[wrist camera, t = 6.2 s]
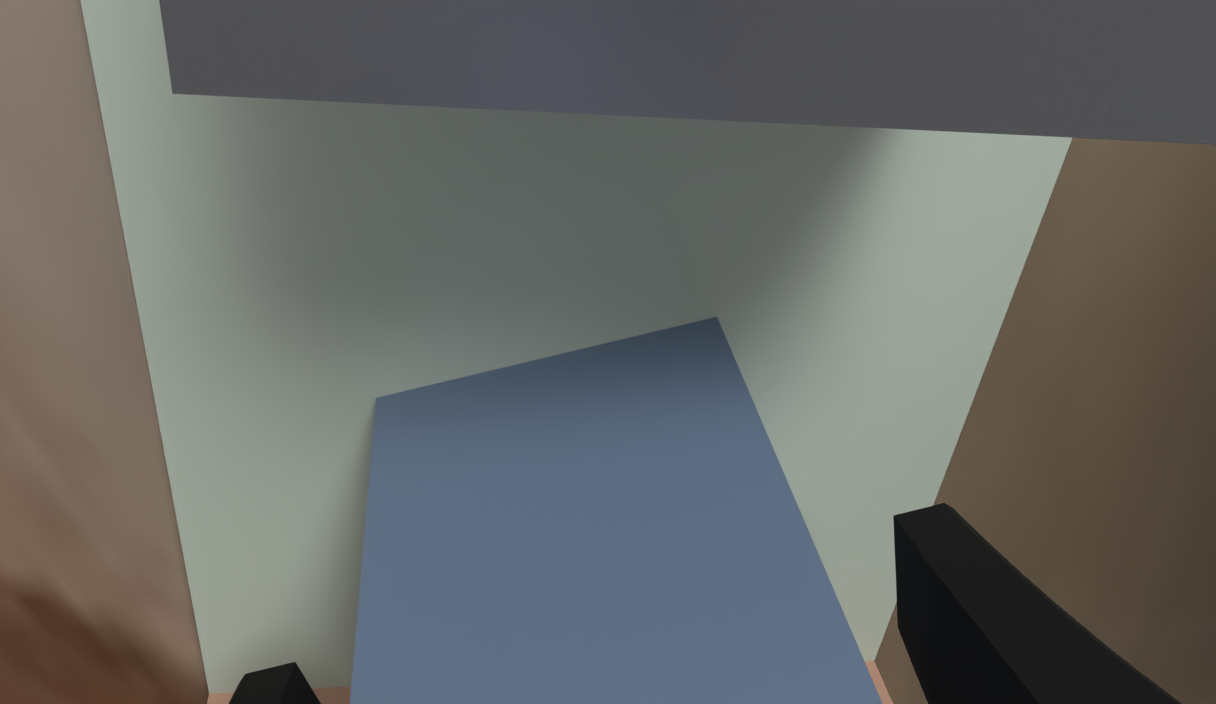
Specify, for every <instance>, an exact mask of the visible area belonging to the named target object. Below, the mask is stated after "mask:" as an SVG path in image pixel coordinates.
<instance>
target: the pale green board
mask: <svg viewBox="0 0 1216 704" xmlns="http://www.w3.org/2000/svg"><path fill="white" fill-rule="evenodd" d="M81 6H82V11H83V16H84V22H85V27H86V32H87V38H88V43H89V49H90V54H91V59H92V65H93V70H94V76H95V81H96V86H97V92H98V97H99V103H100V108H101V113H102V119H103V124H104V129H105V135H106V140H107V146H108V151H109V156H110V162H111V167H112V173H113V178H114V183H115V189H116V194H117V200H118V205H119V210H120V216H121V221H122V227H123V232H124V237H125V243H126V248H127V253H128V259H129V264H130V270H131V275H132V280H133V286H134V291H135V297H136V302H137V307H138V313H139V318H140V324H141V329H142V334H143V340H144V345H145V350H146V356H147V361H148V367H149V372H150V377H151V383H152V388H153V394H154V399H155V404H156V410H157V415H158V421H159V426H160V431H161V437H162V442H163V448H164V453H165V458H166V464H167V469H168V474H169V480H170V485H171V491H172V496H173V501H174V507H175V512H176V518H177V523H178V528H179V534H180V539H181V545H182V550H183V555H184V561H185V566H186V572H187V577H188V582H189V588H190V593H191V598H192V604H193V609H194V615H195V620H196V625H197V631H198V636H199V642H200V647H201V652H202V658H203V663H204V669H205V674H206V679H207V685H208V690H209V696H208V701H207V704H229V702H230V700H231V698H232V696H233V694H234V692H235V690H236V688H237V686H238V684H239V682H240V681H241V679H242V678H243V676H244V675H245V674H247V673H251V672H255V671H259V670H263V669H267V668H271V667H276V666H280V665H284V664H288V663H292V662H296V664H297V665H298V667H299V669H300V670H301V672H302V673H303V675H304V677H305V678H306V680H307V682H308V683H309V685H310V687H311V688H312V690H313V691H314V693H315V695H316V696H317V698H318V700H319V701H320V703H321V704H350V694H351V682H352V671H353V659H354V648H355V636H356V624H357V613H358V601H359V590H360V578H361V567H362V555H363V543H364V532H365V520H366V509H367V497H368V486H369V474H370V463H371V451H372V439H373V428H374V416H375V405H376V398H377V397H382V396H386V395H390V394H394V393H398V392H403V391H407V390H411V389H415V388H419V387H424V386H428V385H432V384H436V383H440V382H445V381H449V380H453V379H457V378H461V377H466V376H470V375H474V374H478V373H482V372H487V371H491V370H495V369H499V368H503V367H508V366H512V365H516V364H520V363H524V362H529V361H533V360H537V359H541V358H546V357H550V356H554V355H558V354H562V353H567V352H571V351H575V350H579V349H583V348H588V347H592V346H596V345H600V344H604V343H609V342H613V341H617V340H621V339H625V338H630V337H634V336H638V335H642V334H646V333H651V332H655V331H659V330H663V329H667V328H672V327H676V326H680V325H684V324H688V323H693V322H697V321H701V320H705V319H709V318H714V317H717V318H718V320H719V323H720V325H721V327H722V330H723V332H724V334H725V337H726V339H727V341H728V344H729V346H730V348H731V351H732V353H733V355H734V358H735V360H736V362H737V365H738V367H739V369H740V372H741V374H742V376H743V379H744V381H745V383H746V386H747V388H748V390H749V393H750V395H751V397H752V400H753V402H754V404H755V407H756V409H757V411H758V414H759V416H760V418H761V421H762V423H763V425H764V428H765V430H766V432H767V435H768V437H769V439H770V442H771V444H772V446H773V449H774V451H775V453H776V456H777V458H778V460H779V463H780V465H781V467H782V470H783V472H784V474H785V477H786V479H787V481H788V484H789V486H790V488H791V491H792V493H793V496H794V498H795V500H796V503H797V505H798V507H799V510H800V512H801V514H802V517H803V519H804V521H805V524H806V526H807V528H808V531H809V533H810V535H811V538H812V540H813V542H814V545H815V547H816V549H817V552H818V554H819V556H820V559H821V561H822V563H823V566H824V568H825V570H826V573H827V575H828V577H829V580H830V582H831V584H832V587H833V589H834V591H835V594H836V596H837V598H838V601H839V603H840V605H841V608H842V610H843V612H844V615H845V617H846V619H847V622H848V624H849V626H850V629H851V631H852V633H853V636H854V638H855V640H856V643H857V645H858V647H859V650H860V652H861V654H862V657H863V659H864V661H865V664H866V666H867V668H868V671H869V673H870V675H871V678H872V680H873V682H874V685H875V687H876V689H877V692H878V694H879V696H880V699H881V701H882V703H883V704H893V703H892V701H891V698H890V696H889V694H888V691H887V689H886V687H885V685H884V682H883V680H882V678H881V675H880V673H879V671H878V669H877V666H876V664H875V662H874V660H875V657H876V655H877V652H878V649H879V647H880V644H881V641H882V639H883V636H884V634H885V631H886V628H887V626H888V623H889V620H890V618H891V615H892V612H893V610H894V607H895V605H896V602H897V593H896V569H895V544H894V519H893V515H897V514H901V513H905V512H909V511H914V510H918V509H922V508H926V507H930V506H933V504H934V502H935V499H936V496H937V494H938V491H939V488H940V486H941V483H942V481H943V478H944V475H945V473H946V470H947V467H948V465H949V462H950V459H951V457H952V454H953V452H954V449H955V446H956V444H957V441H958V438H959V436H960V433H961V430H962V428H963V425H964V423H965V420H966V417H967V415H968V412H969V409H970V407H971V404H972V401H973V399H974V396H975V393H976V391H977V388H978V386H979V383H980V380H981V378H982V375H983V372H984V370H985V367H986V364H987V362H988V359H989V357H990V354H991V351H992V349H993V346H994V343H995V341H996V338H997V335H998V333H999V330H1000V328H1001V325H1002V322H1003V320H1004V317H1005V314H1006V312H1007V309H1008V306H1009V304H1010V301H1011V298H1012V296H1013V293H1014V291H1015V288H1016V285H1017V283H1018V280H1019V277H1020V275H1021V272H1022V269H1023V267H1024V264H1025V262H1026V259H1027V256H1028V254H1029V251H1030V248H1031V246H1032V243H1033V240H1034V238H1035V235H1036V233H1037V230H1038V227H1039V225H1040V222H1041V219H1042V217H1043V214H1044V211H1045V209H1046V206H1047V204H1048V201H1049V198H1050V196H1051V193H1052V190H1053V188H1054V185H1055V182H1056V180H1057V177H1058V174H1059V172H1060V169H1061V167H1062V164H1063V161H1064V159H1065V156H1066V153H1067V151H1068V148H1069V145H1070V143H1071V140H1072V138H1071V137H1051V136H1030V135H1009V134H989V133H968V132H948V131H927V130H906V129H886V128H865V127H845V126H824V125H804V124H783V123H762V122H742V121H721V120H701V119H680V118H660V117H639V116H618V115H598V114H577V113H557V112H536V111H515V110H495V109H474V108H454V107H433V106H413V105H392V104H371V103H351V102H330V101H310V100H289V99H269V98H248V97H227V96H207V95H186V94H172V87H171V80H170V73H169V66H168V59H167V52H166V45H165V38H164V31H163V24H162V17H161V10H160V3H159V0H81Z"/></svg>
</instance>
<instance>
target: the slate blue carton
mask: <svg viewBox="0 0 1216 704" xmlns="http://www.w3.org/2000/svg"><path fill="white" fill-rule="evenodd" d="M350 704H883V703H882V701H881V699H880V696H879V694H878V692H877V689H876V687H875V685H874V682H873V680H872V678H871V675H870V673H869V671H868V668H867V666H866V664H865V661H864V659H863V657H862V654H861V652H860V650H859V647H858V645H857V643H856V640H855V638H854V636H853V633H852V631H851V629H850V626H849V624H848V622H847V619H846V617H845V615H844V612H843V610H842V608H841V605H840V603H839V601H838V598H837V596H836V594H835V591H834V589H833V587H832V584H831V582H830V580H829V577H828V575H827V573H826V570H825V568H824V566H823V563H822V561H821V559H820V556H819V554H818V552H817V549H816V547H815V545H814V542H813V540H812V538H811V535H810V533H809V531H808V528H807V526H806V524H805V521H804V519H803V517H802V514H801V512H800V510H799V507H798V505H797V503H796V500H795V498H794V496H793V493H792V491H791V488H790V486H789V484H788V481H787V479H786V477H785V474H784V472H783V470H782V467H781V465H780V463H779V460H778V458H777V456H776V453H775V451H774V449H773V446H772V444H771V442H770V439H769V437H768V435H767V432H766V430H765V428H764V425H763V423H762V421H761V418H760V416H759V414H758V411H757V409H756V407H755V404H754V402H753V400H752V397H751V395H750V393H749V390H748V388H747V386H746V383H745V381H744V379H743V376H742V374H741V372H740V369H739V367H738V365H737V362H736V360H735V358H734V355H733V353H732V351H731V348H730V346H729V344H728V341H727V339H726V337H725V334H724V332H723V330H722V327H721V325H720V323H719V320H718V318H717V317H714V318H709V319H705V320H701V321H697V322H693V323H688V324H684V325H680V326H676V327H672V328H667V329H663V330H659V331H655V332H651V333H646V334H642V335H638V336H634V337H630V338H625V339H621V340H617V341H613V342H609V343H604V344H600V345H596V346H592V347H588V348H583V349H579V350H575V351H571V352H567V353H562V354H558V355H554V356H550V357H546V358H541V359H537V360H533V361H529V362H524V363H520V364H516V365H512V366H508V367H503V368H499V369H495V370H491V371H487V372H482V373H478V374H474V375H470V376H466V377H461V378H457V379H453V380H449V381H445V382H440V383H436V384H432V385H428V386H424V387H419V388H415V389H411V390H407V391H403V392H398V393H394V394H390V395H386V396H382V397H377V398H376V405H375V416H374V428H373V439H372V451H371V463H370V474H369V486H368V497H367V509H366V520H365V532H364V543H363V555H362V567H361V578H360V590H359V601H358V613H357V624H356V636H355V648H354V659H353V671H352V682H351V694H350Z"/></svg>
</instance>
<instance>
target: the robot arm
mask: <svg viewBox="0 0 1216 704" xmlns="http://www.w3.org/2000/svg"><path fill="white" fill-rule="evenodd" d="M893 519H894V544H895V569H896V593H897V618H898V628H899V631H900V634H901V636H902V639H903V641H904V644H905V646H906V649H907V652H908V654H909V657H910V659H911V662H912V664H913V667H914V669H915V672H916V674H917V677H918V679H919V682H920V684H921V687H922V689H923V692H924V694H925V697H926V699H927V701H928V704H1181V703H1180V702H1179V701H1177V700H1176V699H1175V698H1173V697H1172V696H1171V695H1169V694H1168V693H1167V692H1165V691H1164V690H1163V689H1162V688H1160V687H1159V686H1158V685H1156V684H1155V683H1154V682H1152V681H1151V680H1150V679H1148V678H1147V677H1146V676H1144V675H1143V674H1142V673H1140V672H1139V671H1138V670H1136V669H1135V668H1134V667H1133V666H1131V665H1130V664H1129V663H1128V662H1126V661H1125V660H1124V659H1123V658H1121V657H1120V656H1119V655H1117V654H1116V653H1115V652H1114V651H1112V650H1111V649H1110V648H1109V647H1107V646H1106V645H1105V644H1104V643H1103V642H1101V641H1100V640H1099V639H1098V638H1097V637H1095V636H1094V635H1093V634H1092V633H1091V632H1089V631H1088V630H1087V629H1086V628H1085V627H1083V626H1082V625H1081V624H1080V623H1079V622H1077V621H1076V620H1075V619H1074V618H1073V617H1071V616H1070V615H1069V614H1068V613H1067V612H1065V611H1064V610H1063V609H1062V608H1060V607H1059V606H1058V605H1057V604H1056V603H1055V602H1054V601H1052V600H1051V599H1050V598H1049V597H1048V596H1047V595H1046V594H1044V593H1043V592H1042V591H1041V590H1040V589H1039V588H1038V587H1036V586H1035V585H1034V584H1033V583H1032V582H1031V581H1030V580H1029V579H1027V578H1026V577H1025V576H1024V575H1023V574H1022V573H1021V572H1020V571H1019V570H1018V569H1016V568H1015V567H1014V566H1013V565H1012V564H1011V563H1010V562H1009V561H1008V560H1007V559H1005V558H1004V557H1003V556H1002V555H1001V554H1000V553H999V552H998V551H997V550H996V549H995V548H994V547H993V546H992V545H990V544H989V543H988V542H987V541H986V540H985V539H984V538H983V537H982V536H981V535H980V534H979V533H978V532H977V531H976V530H975V529H974V528H973V527H972V526H971V525H970V524H969V523H968V522H967V521H966V520H964V519H963V518H962V517H961V516H960V515H959V514H958V513H957V512H956V511H955V510H954V509H953V508H952V507H950V506H948V505H947V504H945V503H942V504H938V505H934V506H930V507H926V508H922V509H918V510H914V511H909V512H905V513H901V514H897V515H893ZM229 704H321V703H320V701H319V700H318V698H317V696H316V695H315V693H314V691H313V690H312V688H311V687H310V685H309V683H308V682H307V680H306V678H305V677H304V675H303V673H302V672H301V670H300V669H299V667H298V665H297V664H296V662H292V663H288V664H284V665H280V666H276V667H271V668H267V669H263V670H259V671H255V672H251V673H247V674H245V675H244V676H243V678H242V679H241V681H240V682H239V684H238V686H237V688H236V690H235V692H234V694H233V696H232V698H231V700H230V702H229Z"/></svg>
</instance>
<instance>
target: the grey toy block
mask: <svg viewBox="0 0 1216 704" xmlns="http://www.w3.org/2000/svg"><path fill="white" fill-rule="evenodd" d="M159 3H160V10H161V17H162V24H163V31H164V38H165V45H166V52H167V59H168V66H169V73H170V80H171V87H172V94H186V95H207V96H227V97H248V98H269V99H289V100H310V101H330V102H351V103H371V104H392V105H413V106H433V107H454V108H474V109H495V110H515V111H536V112H557V113H577V114H598V115H618V116H639V117H660V118H680V119H701V120H721V121H742V122H762V123H783V124H804V125H824V126H845V127H865V128H886V129H906V130H927V131H948V132H968V133H989V134H1009V135H1030V136H1051V137H1071V138H1092V139H1112V140H1133V141H1153V142H1174V143H1195V144H1215V145H1216V0H159Z"/></svg>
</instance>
